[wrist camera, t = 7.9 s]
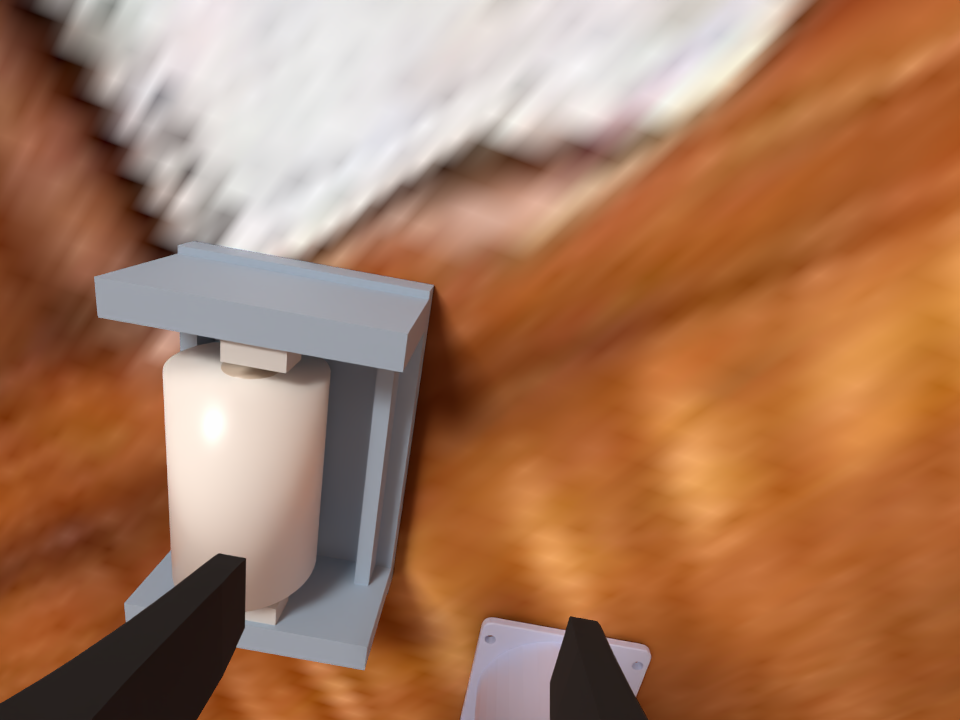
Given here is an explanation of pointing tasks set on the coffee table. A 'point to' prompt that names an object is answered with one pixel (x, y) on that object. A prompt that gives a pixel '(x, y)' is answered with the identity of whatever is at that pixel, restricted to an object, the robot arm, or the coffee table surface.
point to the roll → (245, 467)
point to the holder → (350, 418)
